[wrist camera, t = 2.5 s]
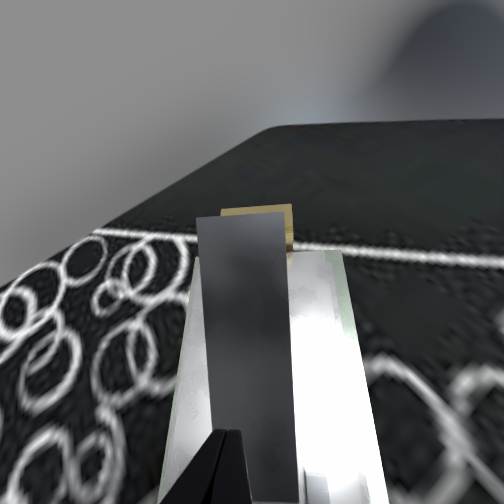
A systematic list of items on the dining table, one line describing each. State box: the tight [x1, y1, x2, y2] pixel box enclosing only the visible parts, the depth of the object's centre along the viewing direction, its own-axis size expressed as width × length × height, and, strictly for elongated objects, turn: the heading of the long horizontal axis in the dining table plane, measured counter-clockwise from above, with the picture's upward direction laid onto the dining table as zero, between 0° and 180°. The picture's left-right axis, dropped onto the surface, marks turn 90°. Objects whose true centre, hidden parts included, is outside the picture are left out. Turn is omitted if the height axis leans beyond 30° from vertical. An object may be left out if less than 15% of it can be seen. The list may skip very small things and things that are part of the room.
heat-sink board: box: [157, 204, 389, 504], centre depth 17 cm, size 21×15×9 cm
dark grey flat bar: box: [196, 212, 299, 504], centre depth 12 cm, size 14×4×1 cm
